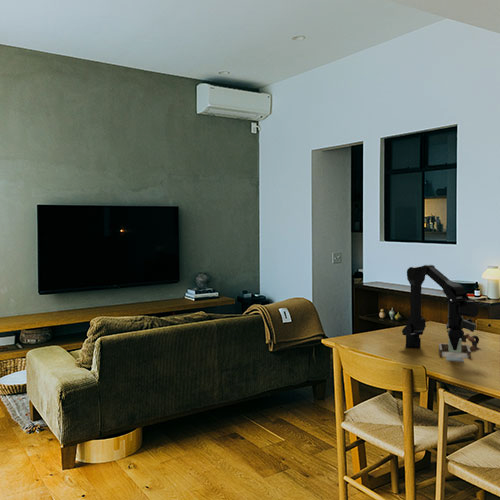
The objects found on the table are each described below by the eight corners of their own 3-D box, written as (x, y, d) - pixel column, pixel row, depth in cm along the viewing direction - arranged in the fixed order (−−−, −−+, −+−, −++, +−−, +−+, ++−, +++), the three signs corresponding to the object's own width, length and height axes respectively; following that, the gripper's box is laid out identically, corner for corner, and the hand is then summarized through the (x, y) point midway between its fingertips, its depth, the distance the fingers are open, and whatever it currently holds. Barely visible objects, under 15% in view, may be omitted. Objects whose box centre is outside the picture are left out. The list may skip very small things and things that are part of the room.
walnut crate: (439, 357, 233) (439, 349, 233) (438, 350, 246) (438, 343, 246) (470, 359, 229) (470, 351, 229) (468, 352, 242) (468, 345, 242)
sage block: (449, 352, 226) (449, 338, 226) (448, 349, 231) (448, 336, 231) (461, 353, 225) (461, 339, 224) (460, 350, 229) (460, 337, 229)
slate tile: (446, 361, 226) (446, 360, 226) (445, 357, 232) (445, 356, 232) (463, 362, 223) (463, 361, 223) (462, 358, 230) (462, 357, 230)
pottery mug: (469, 353, 241) (460, 337, 244) (457, 357, 250) (448, 342, 252) (487, 344, 246) (478, 328, 248) (475, 349, 254) (466, 333, 257)
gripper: (477, 318, 215) (476, 355, 216) (472, 311, 233) (472, 345, 234) (448, 317, 219) (448, 353, 220) (446, 310, 237) (446, 343, 237)
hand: (454, 348), depth 228 cm, fingers closed on sage block, 5 cm apart
